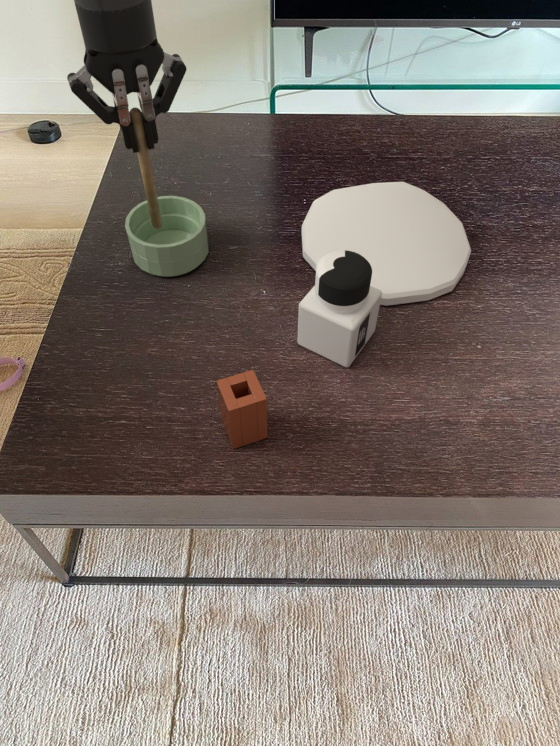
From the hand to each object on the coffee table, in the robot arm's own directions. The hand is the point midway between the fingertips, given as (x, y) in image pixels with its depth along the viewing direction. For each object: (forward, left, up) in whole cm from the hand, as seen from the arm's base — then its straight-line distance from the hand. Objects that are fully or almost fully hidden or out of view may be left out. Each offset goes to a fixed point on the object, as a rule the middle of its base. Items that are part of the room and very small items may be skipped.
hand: (141, 147), depth 75 cm
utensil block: (+2, -31, -19) cm, 36 cm away
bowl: (+2, +2, -19) cm, 19 cm away
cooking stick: (0, 0, -12) cm, 12 cm away
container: (+18, -22, -19) cm, 34 cm away
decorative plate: (+32, -8, -19) cm, 38 cm away
